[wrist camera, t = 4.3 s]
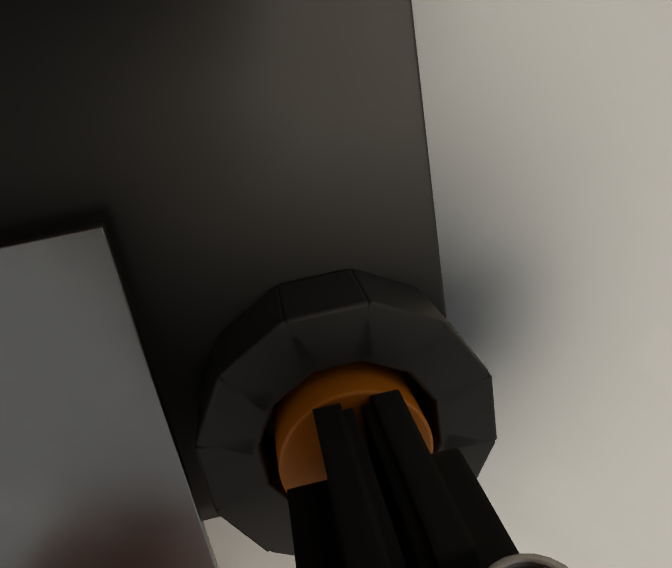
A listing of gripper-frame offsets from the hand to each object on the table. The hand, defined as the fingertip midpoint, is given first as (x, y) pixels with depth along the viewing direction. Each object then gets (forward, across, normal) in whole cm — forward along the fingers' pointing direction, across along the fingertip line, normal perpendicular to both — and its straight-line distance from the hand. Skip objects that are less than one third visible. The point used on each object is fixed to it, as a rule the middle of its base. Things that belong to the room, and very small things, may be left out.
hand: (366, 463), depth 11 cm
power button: (+2, 0, 0) cm, 2 cm away
